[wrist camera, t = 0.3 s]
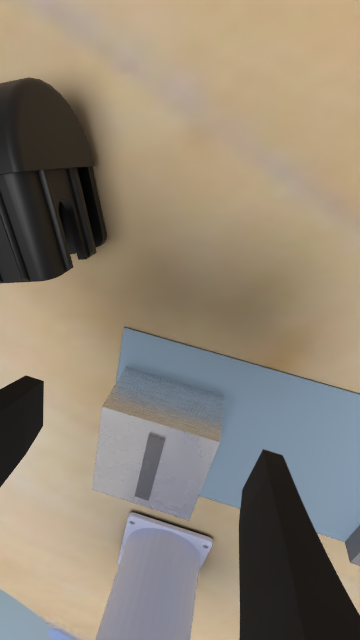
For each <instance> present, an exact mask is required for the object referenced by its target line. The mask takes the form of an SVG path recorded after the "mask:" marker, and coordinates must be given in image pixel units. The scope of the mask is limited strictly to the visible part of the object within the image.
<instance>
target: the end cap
mask: <svg viewBox="0 0 360 640" xmlns="http://www.w3.org/2000/svg"><path fill="white" fill-rule="evenodd" d="M92 166H94V162H93V158H92V154H91V151H90V147H89V144H88V141H87V139H86V136H85V134H84V131H83V129H82V127H81V125H80V123H79V121H78V119H77V117H76V115H75V113H74V112H73V110H72V109H71V107H70V106H69V104H68V103H67V102H66V100H65V99H64V98H63V97H62V95H61V94H60V93H59V92H58V91H56V90H55V89H54V88H53V87H52V86H51V85H49V84H47V83H45V82H44V81H42V80H40V79H34V78H24V79H20V80H15V81H10V82H5V83H1V84H0V283H14V282H34V281H45V280H50V279H53V278H56V277H58V276H60V275H62V274H64V273H65V272H67V271H68V270H70V269H71V268H73V264H72V260H71V256H70V254H75V253H77V256H78V260H81V259H87V258H89V257H90V256H92V255H93V254H95V253H96V247H98V246H101V245H102V244H104V242H105V241H106V236H107V233H106V229H105V224H104V219H103V214H102V210H101V205H100V200H99V195H98V191H97V186H96V181H95V177H94V172H93V168H92Z"/></svg>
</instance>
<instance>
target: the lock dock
mask: <svg viewBox="0 0 360 640" xmlns="http://www.w3.org/2000/svg"><path fill="white" fill-rule="evenodd" d="M125 367H129V368H132V369H136V370H139V371H142V372H146V373H149V374H153V375H156V376H160V377H163V378H166V379H170V380H173V381H177V382H180V383H183V384H187V385H190V386H194V387H197V388H200V389H204V390H207V391H211V392H214V393H218V394H221V395H224V396H225V397H224V408H223V418H222V428H221V438H220V444H219V446H218V449H217V451H216V454H215V456H214V459H213V461H212V464H211V466H210V469H209V471H208V474H207V476H206V479H205V482H204V484H203V487H202V489H201V492H200V494H199V496H201V497H204V498H208V499H211V500H214V501H217V502H220V503H223V504H227V505H230V506H233V507H236V508H239V509H240V507H241V497H242V489H243V487H244V485H245V483H246V481H247V479H248V477H249V475H250V473H251V471H252V470H253V468H254V466H255V464H256V462H257V460H258V458H259V456H260V454H261V452H262V450H263V449H264V450H268V451H271V452H274V453H277V454H280V455H283V457H284V459H285V461H286V463H287V466H288V468H289V471H290V473H291V476H292V478H293V481H294V483H295V485H296V488H297V490H298V493H299V495H300V497H301V500H302V502H303V504H304V506H305V509H306V511H307V513H308V515H309V518H310V520H311V522H312V524H313V526H314V528H315V530H316V533H318V534H321V535H324V536H328V537H331V538H334V539H337V540H340V541H343V542H345V544H346V548H347V552H348V556H349V560H350V563H353V564H356V565H359V566H360V394H358V393H354V392H351V391H347V390H344V389H340V388H337V387H333V386H330V385H326V384H323V383H319V382H316V381H312V380H309V379H305V378H302V377H298V376H295V375H291V374H288V373H284V372H281V371H277V370H274V369H270V368H267V367H263V366H259V365H256V364H252V363H249V362H245V361H242V360H238V359H235V358H231V357H228V356H224V355H221V354H217V353H214V352H210V351H207V350H203V349H200V348H196V347H193V346H189V345H186V344H182V343H179V342H175V341H172V340H168V339H165V338H161V337H158V336H154V335H151V334H147V333H143V332H140V331H136V330H133V329H129V328H126V327H124V330H123V337H122V344H121V351H120V358H119V365H118V372H117V379H116V382H117V380H118V379H119V377H120V375H121V373H122V372H123V370H124V368H125Z"/></svg>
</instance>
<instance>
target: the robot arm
mask: <svg viewBox="0 0 360 640" xmlns="http://www.w3.org/2000/svg"><path fill="white" fill-rule="evenodd" d="M43 389H44V381H42V380H39V379H35V378H32V377H29V376H24V377H22V378H21V379H19V380H17V381H15V382H13V383H11V384H9V385H7V386H6V387H4V388H2V389H0V487H1V486H2V484H3V483H4V482H5V480H6V479H7V478H8V477H9V475H10V474H11V473H12V471H13V470H14V469H15V468H16V466H17V465H18V464H19V462H20V461H21V460H22V458H23V457H24V456H25V454H26V453H27V451H28V450H29V448H30V446H31V445H32V443H33V442H34V440H35V438H36V437H37V435H38V433H39V432H40V430H41V428H42V426H43ZM212 543H213V540H212V539H211V538H210V537H208V536H205V535H202V534H198V533H195V532H192V531H189V530H186V529H183V528H180V527H177V526H174V525H171V524H168V523H165V522H162V521H158V520H155V519H152V518H149V517H146V516H143V515H140V514H137V513H129V516H128V519H127V523H126V528H125V532H124V537H123V541H122V546H121V550H120V554H119V559H118V565H119V566H118V570H117V573H116V576H115V579H114V582H113V585H112V589H111V592H110V595H109V598H108V601H107V604H106V608H105V611H104V614H103V617H102V620H101V623H100V627H99V630H98V633H97V636H96V639H95V640H190V637H191V629H192V621H193V612H194V604H195V596H196V588H197V579H198V573H199V571H200V569H201V567H202V565H203V563H204V561H205V559H206V557H207V555H208V553H209V551H210V549H211V547H212ZM239 569H240V640H360V615H359V613H358V612H357V610H356V608H355V606H354V605H353V603H352V601H351V599H350V597H349V596H348V594H347V592H346V590H345V588H344V586H343V585H342V583H341V581H340V579H339V577H338V575H337V573H336V571H335V569H334V567H333V565H332V563H331V561H330V559H329V558H328V555H327V553H326V551H325V549H324V547H323V545H322V543H321V541H320V539H319V537H318V535H317V533H316V530H315V528H314V526H313V524H312V522H311V520H310V518H309V515H308V513H307V511H306V509H305V506H304V504H303V502H302V500H301V497H300V495H299V493H298V490H297V488H296V485H295V483H294V481H293V478H292V476H291V473H290V471H289V468H288V466H287V463H286V461H285V459H284V457H283V455H280V454H277V453H274V452H271V451H268V450H264V449H263V450H262V452H261V454H260V456H259V458H258V460H257V462H256V464H255V466H254V468H253V470H252V471H251V473H250V475H249V477H248V479H247V481H246V483H245V485H244V487H243V489H242V497H241V507H240V519H239Z"/></svg>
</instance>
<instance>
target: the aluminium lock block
mask: <svg viewBox="0 0 360 640" xmlns="http://www.w3.org/2000/svg"><path fill="white" fill-rule="evenodd" d="M224 397H225V396H224V395H221V394H218V393H214V392H211V391H207V390H204V389H200V388H197V387H194V386H190V385H187V384H183V383H180V382H177V381H173V380H170V379H166V378H163V377H160V376H156V375H153V374H149V373H146V372H142V371H139V370H136V369H132V368H129V367H125V368H124V370H123V372H122V373H121V375H120V377H119V379H118V380H117V382H116V384H115V386H114V387H113V389H112V391H111V392H110V394H109V396H108V398H107V399H106V401H105V403H104V404H103V406H102V413H101V421H100V429H99V438H98V446H97V454H96V462H95V471H94V479H93V487H92V489H93V490H96V491H99V492H102V493H105V494H108V495H111V496H114V497H117V498H121V499H124V500H127V501H130V502H133V503H136V504H139V505H142V506H145V507H148V508H152V509H155V510H158V511H161V512H164V513H167V514H170V515H173V516H176V517H179V518H182V519H186V520H189V519H190V517H191V514H192V512H193V509H194V507H195V504H196V502H197V499H198V497H199V494H200V492H201V489H202V487H203V484H204V482H205V479H206V476H207V474H208V471H209V469H210V466H211V464H212V461H213V459H214V456H215V454H216V451H217V449H218V446H219V444H220V438H221V428H222V418H223V408H224Z"/></svg>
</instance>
